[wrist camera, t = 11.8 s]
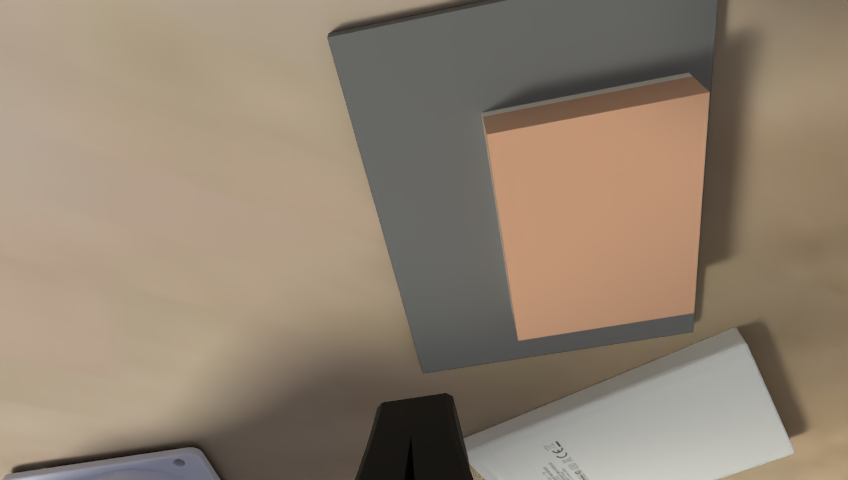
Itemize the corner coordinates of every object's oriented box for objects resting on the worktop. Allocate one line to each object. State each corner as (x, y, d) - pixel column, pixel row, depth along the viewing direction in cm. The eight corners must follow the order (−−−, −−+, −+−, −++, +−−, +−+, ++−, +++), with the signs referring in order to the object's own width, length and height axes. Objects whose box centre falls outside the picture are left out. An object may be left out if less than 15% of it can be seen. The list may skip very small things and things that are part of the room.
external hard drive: (779, 426, 29) (538, 513, 32) (729, 316, 25) (459, 428, 28) (798, 457, 27) (544, 543, 31) (748, 345, 23) (462, 459, 27)
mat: (422, 365, 25) (422, 373, 24) (328, 33, 17) (327, 37, 17) (689, 324, 24) (693, 332, 24) (714, -48, 16) (721, -45, 16)
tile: (518, 340, 22) (693, 313, 21) (486, 134, 17) (709, 92, 16) (512, 312, 23) (678, 285, 22) (481, 112, 18) (688, 72, 18)
